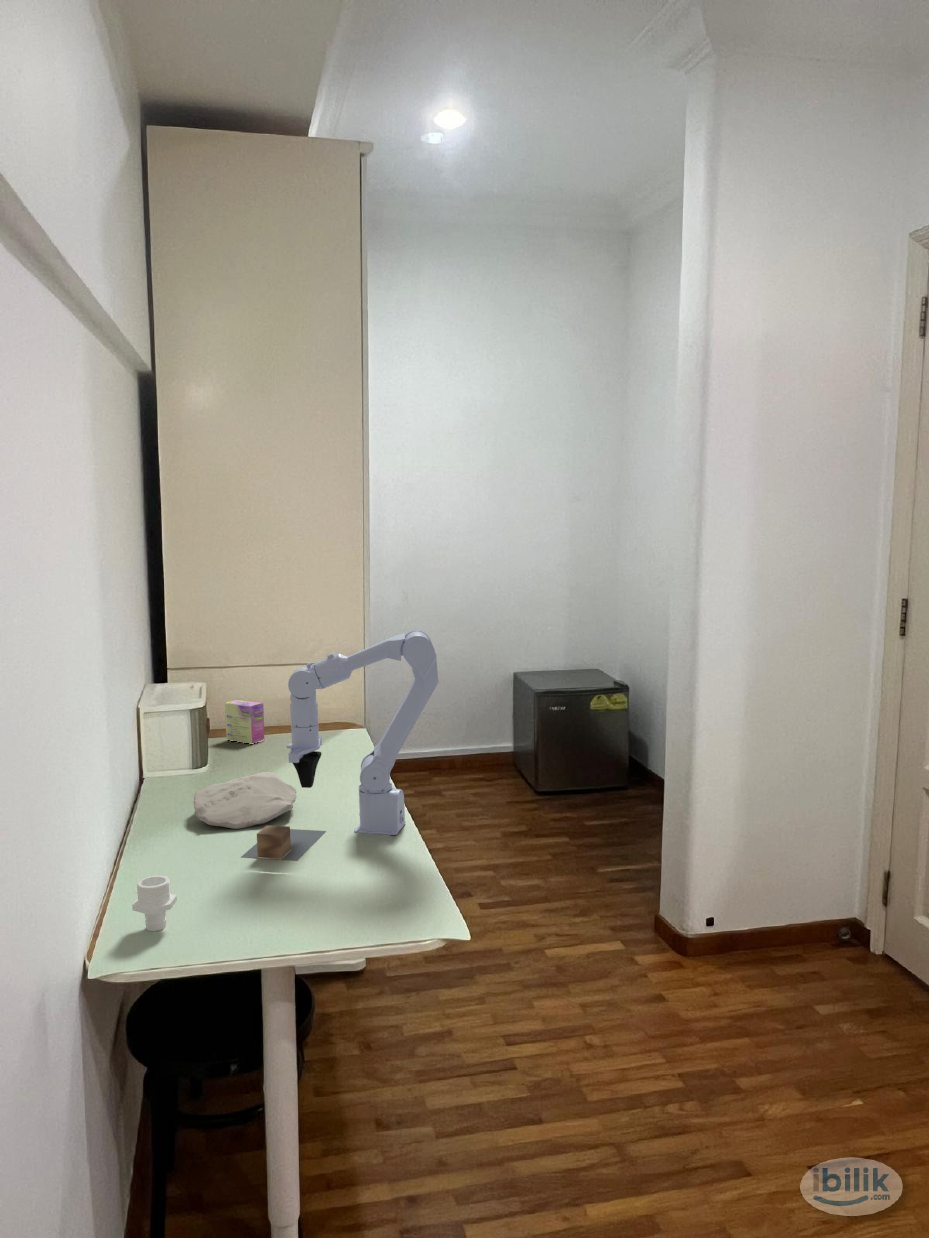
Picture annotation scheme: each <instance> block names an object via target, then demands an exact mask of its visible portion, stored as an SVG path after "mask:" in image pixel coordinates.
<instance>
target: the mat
mask: <svg viewBox="0 0 929 1238" xmlns="http://www.w3.org/2000/svg"><path fill="white" fill-rule="evenodd" d="M325 833H327V830H316V829H312V830H311V829H297V828H296V829H294V828H290V839H291V851H290V852H289V853H288V854H287V855H286V856H285V857H284V858H283V859H282V860H281V859H274V860H278V861H279V860H280V861H293V862H294V861H295V862H298V861H299V860H300V859H301V858H302V857H303V856H304V855H305V854H306V853H307V852H308V851H309V850H310V849H311V848H312V846H314V844H316V843H317V841H319V840H320V838H321V837H323V835H325ZM240 858H244V859H258V860H259V859H261V860H265V859H264V858H258V852H257V842H256V843H255V844H254V845H253V846H252V847H251V848H249V849H248V850H247V851H246V852H245V853H244V854H242V856H240Z"/></svg>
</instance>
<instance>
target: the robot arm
mask: <svg viewBox="0 0 929 1238" xmlns="http://www.w3.org/2000/svg"><path fill="white" fill-rule="evenodd" d="M402 657H403V658H404V659H405V661H406V662H407V663H408V665H409V666H410V667H411V670H412V674H413V676H414V680H413V681H412V684H411V686H410V687H409V689H408V691H406V694H405V696H404V698H403V699H402V701H401V703H400V705H399V707H398V709H397V710H396V712H395V714H394V716H393V717H392V719H391V721H390V722H389V725H388V726H387V728H386V729H385V731H384V732H383V735H382V736H381V738H380V740H379V742H378V743H377V744H376V745H375V747H374V748H373V750H371V752H370V753H368V754H366V756H364V757H363V759H362V760H361V763H360V773H359V781H360V785H358V797H359V798H358V803H359V805H358V806H359V824H358V825H357V826H356V827H355V829H354V830H353V832H354V833H355V834H372V835H373V834H374V835H391V836H395V835H396V836H397V835H398V833H399V832H400V831H401V829H402V828H403V827H404V826H405V825H406V820H405V819H406V817H405V816H406V815H405V814H406V813H405V795H404V794H405V793H404V791H403V789H401V788H394V787H393V783H392V782H390V781H391V780H390V779H391V771H392V769H393V768H394V766H395V763H396V760H397V757H398V755H399V753H400V752H401V750H402V748H403V746H404V744H405V742H406V740H407V739H408V737H409V736H410V734H411V731H412V730H413V728H414V726H415V725H416V723H417V721H418V719H419V718H420V717H421V714H422V712H423V711H424V709H425V707H426V706H427V704H428V702H429V700H430V698H431V697H432V695H433V693H434V692H435V690H436V687H437V686H438V684H439V674H438V672H439V671H438V662H437V661H438V660H437V654H436V651H435V647H434V645H433V643H432V641H431V638H430V636H429V635H428V634H427V633H426V632H425V631H422V630H419V629H416V630H415V629H413V630H411V631H408V633H406V634H405V633H400V634H397V635H394V636H391V637H389V638H387V639H384V640H382V641H379V642H377V643H375V644H373V645H370V646H368V647H366V648H363V649H361V650H360V651H357V652H355V653H352V654H350V655H347V656H346V655H344V654H342V653H337V654H334V652H331V653H329V654H327V658H325V659H322V660H319V661H316V662H314V663H312V662H308V663H307V664H306V667H303V666H302V667H299V668H296V669H295V670H294V671H293V672H292V674H291V675H290V677H289V679H288V682H287V683H288V684H287V685H288V691H289V692H290V698H289V699H290V705H289V706H290V707H289V708H290V709H289V710H290V729H291V731H290V732H291V742H290V743H287V744H286V749H290V751H289V752H288V755H287V756H288V763H290V764H292V765H293V766H294V769H295V770H296V773H297V777H298V779H299V783H300V786H301V788H307V789H310V788H312V787H313V786H314V784H315V783H314V781H315V777H316V772H317V771H316V770H317V768H318V764H319V761H320V759H321V757H322V752H321V751H318V750H319V749H320V748H321V747H322V745H323V742H322V741H323V739H322V736H320V733H319V730H320V729H319V712H318V711H319V709H318V708H319V706H318V701H317V690H323V689H327V688H329V687H332V686H333V685H336V684H338V683H341V682H344V681H347V680H348V679H350V677H351V675H352V673H353V671H355V670H358V669H360V668H364V667H367V666H369V665H371V664H375V663H377V662H380V661H383V660H385V659H391V660H395V661H400V662H401V661H402Z"/></svg>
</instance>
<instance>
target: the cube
mask: <svg viewBox="0 0 929 1238" xmlns="http://www.w3.org/2000/svg"><path fill="white" fill-rule="evenodd" d="M290 829H291V826H289V825H288V826H285V825H268V824H267V825H265V826H264V827H263V828H262V829H260V831H258V832H257V833H256V843H257V852H258V858H264V859H263V860H275V859H281V860H280V861H283V860H282V859H283V858H284V857H285V856H286V855H287V854H288V853H289V852H290V851H291V839H290ZM258 858H257V859H258Z"/></svg>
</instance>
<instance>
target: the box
mask: <svg viewBox="0 0 929 1238" xmlns="http://www.w3.org/2000/svg"><path fill="white" fill-rule="evenodd" d="M224 714H225V740H226V739H228V740H233V741H239V742H243V743H242V744H244V743H256V742H258V741H261V740H263V739H264V740H265V718H264V717H265V712H264V702H257V701H249V700H241V699H235V700H230V701H227V702H225V703H224Z"/></svg>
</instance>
